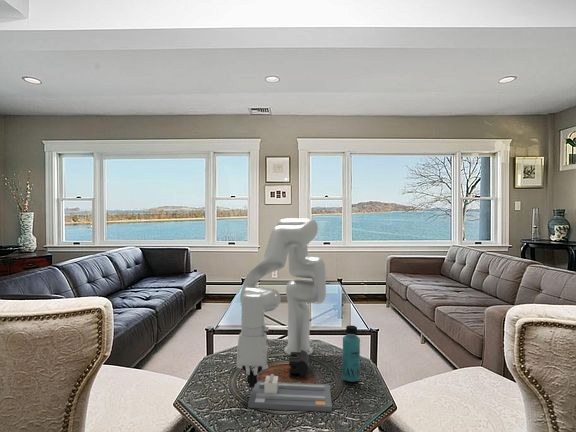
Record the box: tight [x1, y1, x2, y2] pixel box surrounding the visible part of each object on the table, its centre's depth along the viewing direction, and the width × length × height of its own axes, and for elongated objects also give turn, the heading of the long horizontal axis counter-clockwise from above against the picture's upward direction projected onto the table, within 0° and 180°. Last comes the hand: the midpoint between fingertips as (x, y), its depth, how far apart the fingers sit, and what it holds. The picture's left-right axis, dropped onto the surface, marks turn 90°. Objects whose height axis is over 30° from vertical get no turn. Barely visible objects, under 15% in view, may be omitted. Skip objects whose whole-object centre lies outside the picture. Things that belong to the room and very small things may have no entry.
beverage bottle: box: [341, 325, 361, 382], centre depth 125 cm, size 6×7×20 cm
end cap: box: [288, 350, 310, 378], centre depth 133 cm, size 10×7×7 cm
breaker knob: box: [264, 373, 279, 394], centre depth 114 cm, size 5×4×5 cm
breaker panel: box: [247, 381, 333, 413], centre depth 114 cm, size 14×26×2 cm, turn 86°
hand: (252, 385), depth 115 cm, fingers closed
